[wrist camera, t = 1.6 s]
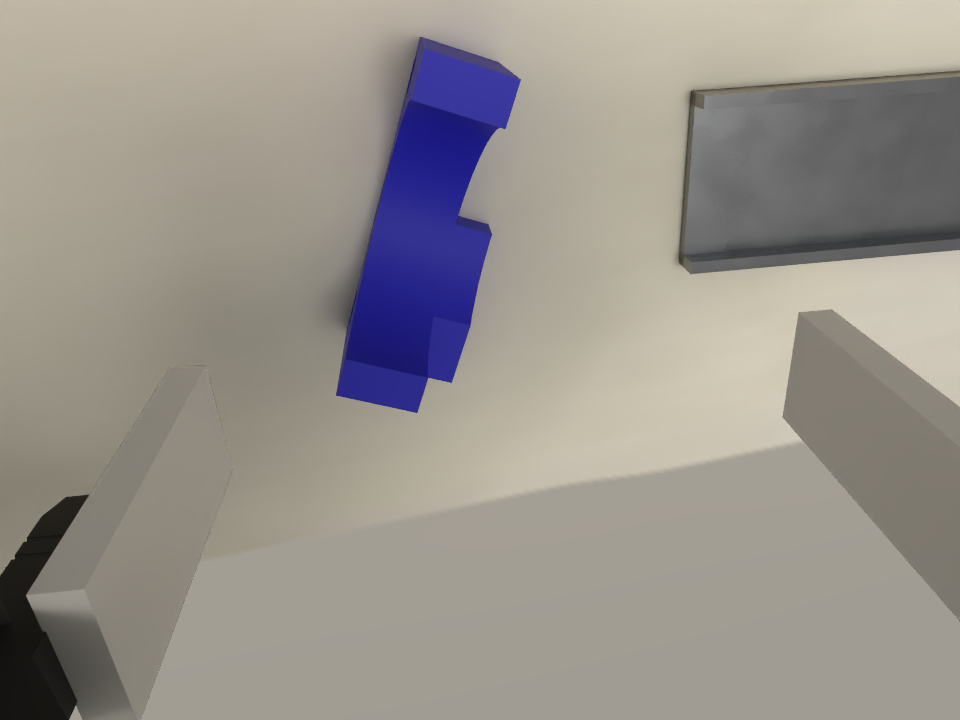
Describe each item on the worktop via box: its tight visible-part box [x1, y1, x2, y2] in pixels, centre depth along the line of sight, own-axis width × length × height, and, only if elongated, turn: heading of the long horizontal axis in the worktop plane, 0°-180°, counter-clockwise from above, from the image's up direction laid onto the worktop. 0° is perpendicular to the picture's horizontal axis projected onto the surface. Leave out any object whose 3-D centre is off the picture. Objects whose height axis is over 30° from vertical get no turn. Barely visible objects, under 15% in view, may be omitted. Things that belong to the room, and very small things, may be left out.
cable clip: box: [336, 37, 521, 413], centre depth 27 cm, size 12×4×6 cm, turn 163°
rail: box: [679, 71, 960, 274], centre depth 30 cm, size 15×7×1 cm, turn 93°
